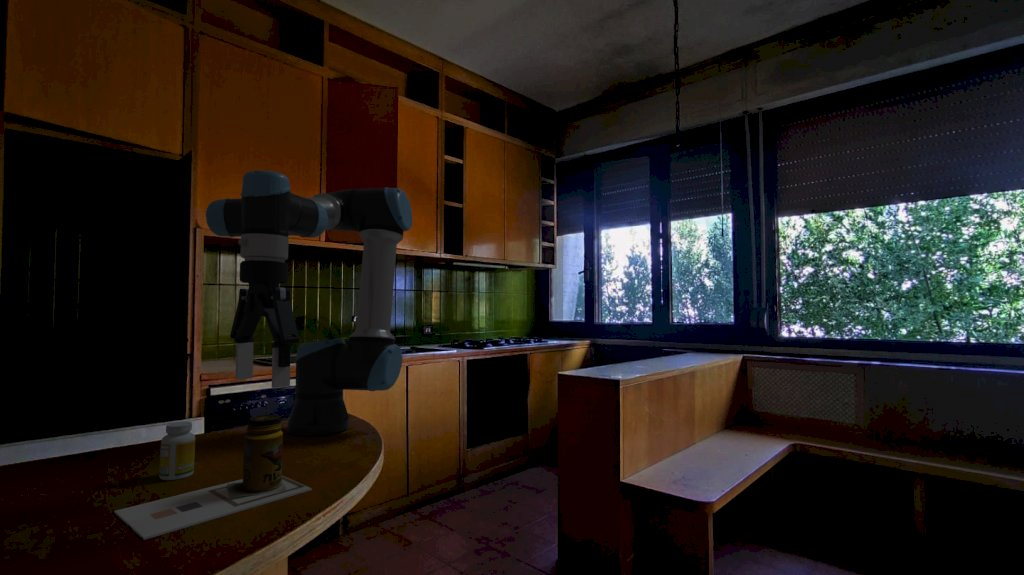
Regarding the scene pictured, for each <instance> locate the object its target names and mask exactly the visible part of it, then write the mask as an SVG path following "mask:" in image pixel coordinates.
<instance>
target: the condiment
mask: <svg viewBox="0 0 1024 575" xmlns="http://www.w3.org/2000/svg"><path fill="white" fill-rule="evenodd" d="M281 429H282V417H281V416H280V415H277V414H262V415H261V414H260V415H256V416H251V417H250V418H248V419H247V427H246V433H245V435H244V439H243V441H244V442H243V465H242V467H243V468H242V479H243V482H240V483H231V484H227V488H228V494H229V498H230V499H231V498H236V497H242V496H248V495H254V494H263V493H268V492H275V491H280V490H285V489H287V488H286V487H285V485H284V483H283V481H282V479H281V478H282V476H283V475H282V473H283V470H282V469H283V446H284V437H283V436H284V432H283V431H282V430H281Z"/></svg>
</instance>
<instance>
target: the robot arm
mask: <svg viewBox="0 0 1024 575" xmlns="http://www.w3.org/2000/svg"><path fill="white" fill-rule="evenodd" d="M290 185H291V184H290V180H289V178H288V176H287V175H285V174H283V173H280V172H277V171H271V170H259V169H258V170H250V171H247V172H245V173H244V174H243V178H242V186H241V193H240V197H241V198H221V199H215V200H213V201H212V202H210V203H209V204H208V205H207V208H206V210H205V220H206V225H207V227H208V228H209V230H210V231H211V232H212V233H213V234H214V235H216V236H219V237H229V238H235V237H238V238H240V239H239V240H238V241H237V242H238V245H240V257H241V258H242V259H243V260H242V261H241V262H240V263H239V281H240V282H241V283H244V284H248V288H240V289H239V290H238V302H237V305H236V309H235V310H236V311H235V313H234V314H235V315H234V318H233V321H232V326H231V331H230V335H229V336H230V339H234V343H236V344H235V380H237V381H238V380H248V379H253V378H254V342H255V338H254V334H255V332H256V329H257V326H258V324H259V323H260V320H261V319H262V318H261V317H264V318H265V320H266V324H267V326H268V328H269V331H270V333H271V337H272V339H273V344H271V348H272V349H271V350H272V351H271V352H272V353H271V354H272V355H271V388H272V389H276V388H277V389H278V388H284V387H285V388H286V387H290V386H291V360H292V358H291V354H292V352H291V351H292V349H291V348H292V347H293V346H294V344H299V342H300V337H299V332H298V328H297V323H296V320H295V318H296V317H295V314H294V310H293V306H292V302H291V289H290V288H289V287H280V284H281V285H282V284H286V283H287V282H288V275H289V274H288V273H289V271H288V270H289V268H288V267H289V265H288V263H287V262H285V261H287V260H289V243H290V242H289V240H290V239H289V236H296V237H297V236H298V237H300V238H305V239H306V238H308V239H309V238H310V239H313V238H314V239H315V238H317V237H319V236H321V235H322V234H323V233H324V232H325V231H331V230H332V231H341V232H342V231H343V232H344V231H345V232H358V236H359V237H360V238H361V240H362V241H363V247H362V249H363V250H362V257H361V258H362V260H361V270H360V271H361V272H360V282H359V293H358V305H357V313H356V324H355V325H356V326H355V331H353V333H350V335H349V336H348V343H346V341H345V339H344V338H333V339H326V340H316V341H315V340H314V341H308V342H302V343H300V344H299V345H298V346H297V348H296V357H295V390H294V391H295V392H294V393H295V395H294V396H295V398H294V402H293V406H292V409H291V411H290V414H289V416H288V420H287V423H286V433H287V434H288V433H289V435H291V436H296V437H297V436H298V437H318V435H322V436H328V435H327V434H329V435H333V434H332V433H335V434H337V433H336V432H339V433H341V432H340V431H343V430H345V429H347V428H348V427H349V428H350V415H349V414H348V413H349V412H348V409H347V407H346V404H345V400H344V390H346V391H348V390H349V391H368V392H375V391H376V392H377V391H381V392H382V391H388V390H390V389H391V388H393V386H394V385H395V384H396V382H397V381H398V380H399V377H400V374H401V370H402V365H403V355H402V354H403V351H402V349H401V347H400V346H399V345H397V344H396V337H395V336H394V335H393V334H392V333H391V323H392V322H391V320H392V309H393V299H394V298H393V297H394V284H395V271H396V262H397V261H396V260H397V259H396V258H397V247H398V246H397V245H398V244H399V243H401V242H402V241H403V239H404V232H408V231H410V230H411V229H412V226H413V211H412V207H411V206H412V205H411V203H410V200H409V197H408V196H407V194H406V192H405V191H404V190H403V189H401V188H398V187H387V186H386V187H376V188H375V187H373V188H349V189H342V190H337V191H332V192H325V193H324V192H321V193H317V194H315V195H313V196H309V197H308V196H307V197H306V196H305V197H304V196H300V195H297V194H295V193H293V192H291V186H290ZM347 430H348V429H347ZM345 431H346V430H345ZM343 432H344V431H343Z"/></svg>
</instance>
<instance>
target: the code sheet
mask: <svg viewBox="0 0 1024 575" xmlns="http://www.w3.org/2000/svg"><path fill="white" fill-rule="evenodd" d="M281 479H282V481H283V483H284V485H285V487H286V488H287V489H285V490H280V491H275V492H268V493H263V494H254V495H248V496H242V497H236V498H231V499H230V498H229V494H228V488H227V484H231V483H240V482H243V478H241V479H238V480H237V479H236V480H234V481H229V482H225V483H221V484H217V485H214V486H209V487H205V488H201V489H198V490H193V491H189V492H184V493H181V494H178V495H174V496H170V497H164V498H161V499H157V500H152V501H149V502H144V503H141V504H137V505H133V506H129V507H126V508H125V507H124V508H121V509H116V510H114V514H115V515H116V516H117V517H118V518H119V519H120V520H121V521H123V522H124V524H126V525H127V526H128V525H129V526H130V527H131V528H132V531H134V533H136V534H137V535H138V536H139V537H140V538H141V537H142V538H143V539H142V538H141V539H142V540H144V541H145V540H148V539H152V538H155V537H159V536H161V535H165V534H168V533H172V532H176V531H180V530H183V529H186V528H189V527H192V526H196V525H199V524H203V523H206V522H209V521H212V520H215V519H216V520H217V519H218V518H222V517H223V518H224V517H226V516H229V515H233V514H236V513H239V512H242V511H245V510H249V509H252V508H255V507H260V506H262V505H267V504H270V503H272V502H276V501H280V500H283V499H286V498H290V497H292V496H297V495H300V494H302V493H303V494H304V493H307V492H310V491H312V490H313V488H311V487H310V486H307V485H305V484H302V483H300V482H298V481H295V480H293V479H291V478H289V477H287V476H284V475H282V478H281ZM129 526H128V527H129ZM130 527H129V528H130ZM131 528H130V529H131Z"/></svg>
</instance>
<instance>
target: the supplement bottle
mask: <svg viewBox="0 0 1024 575" xmlns="http://www.w3.org/2000/svg"><path fill="white" fill-rule="evenodd" d="M192 430H193V422H191V421H175V422H171V423H168V424H167V423H166V426H165V432H166V434H167V435H164V436H163V437H162V438H161V441H160V451H159V452H160V454H159V468H158V470H159V471H158V472H159V474H158V476H159V479H160V480H162V481H176V480H180V479H186V478H189V477H190V476H192V475H193V474H194V471H195V455H196V453H195V451H196V435H195V434H194V433H193V432H191V431H192Z"/></svg>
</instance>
